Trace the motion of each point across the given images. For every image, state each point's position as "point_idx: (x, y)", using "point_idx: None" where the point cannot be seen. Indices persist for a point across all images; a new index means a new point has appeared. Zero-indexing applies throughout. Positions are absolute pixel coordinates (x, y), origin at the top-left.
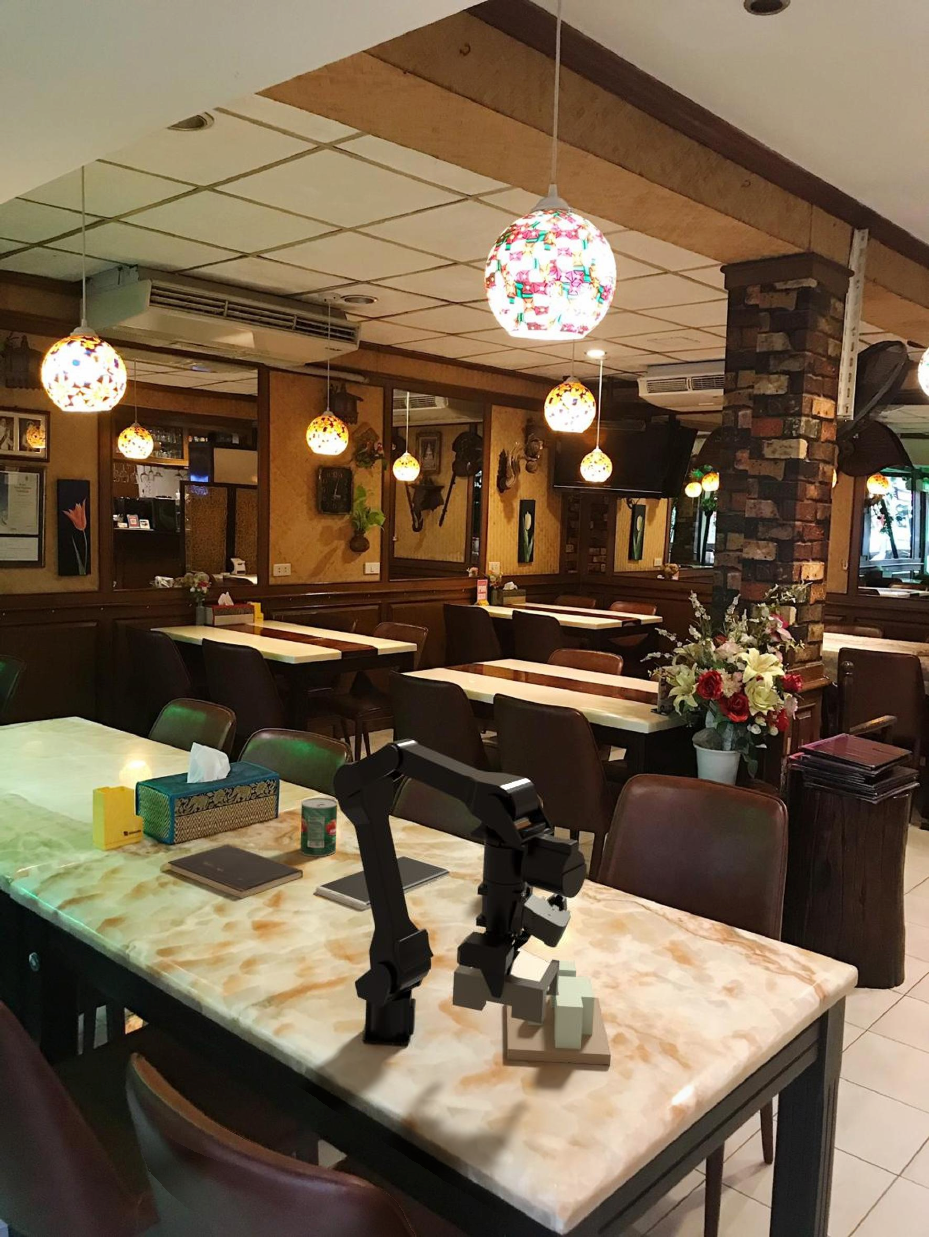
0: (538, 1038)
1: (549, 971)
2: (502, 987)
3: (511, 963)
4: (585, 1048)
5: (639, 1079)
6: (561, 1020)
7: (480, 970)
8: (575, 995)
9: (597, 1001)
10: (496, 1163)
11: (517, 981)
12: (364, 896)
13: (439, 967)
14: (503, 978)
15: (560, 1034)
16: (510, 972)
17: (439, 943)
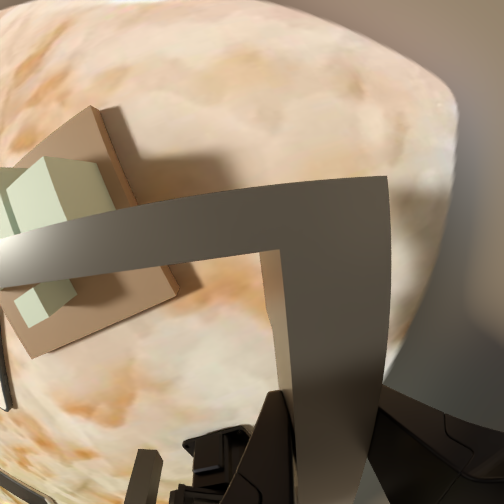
0: None
1: (82, 246)
2: (387, 393)
3: (292, 481)
4: (90, 155)
5: (121, 53)
6: (84, 206)
7: (305, 497)
8: (2, 212)
9: None
10: (442, 187)
11: (350, 369)
12: (39, 499)
13: (51, 440)
14: (442, 412)
15: (100, 204)
16: (270, 438)
17: (22, 444)
